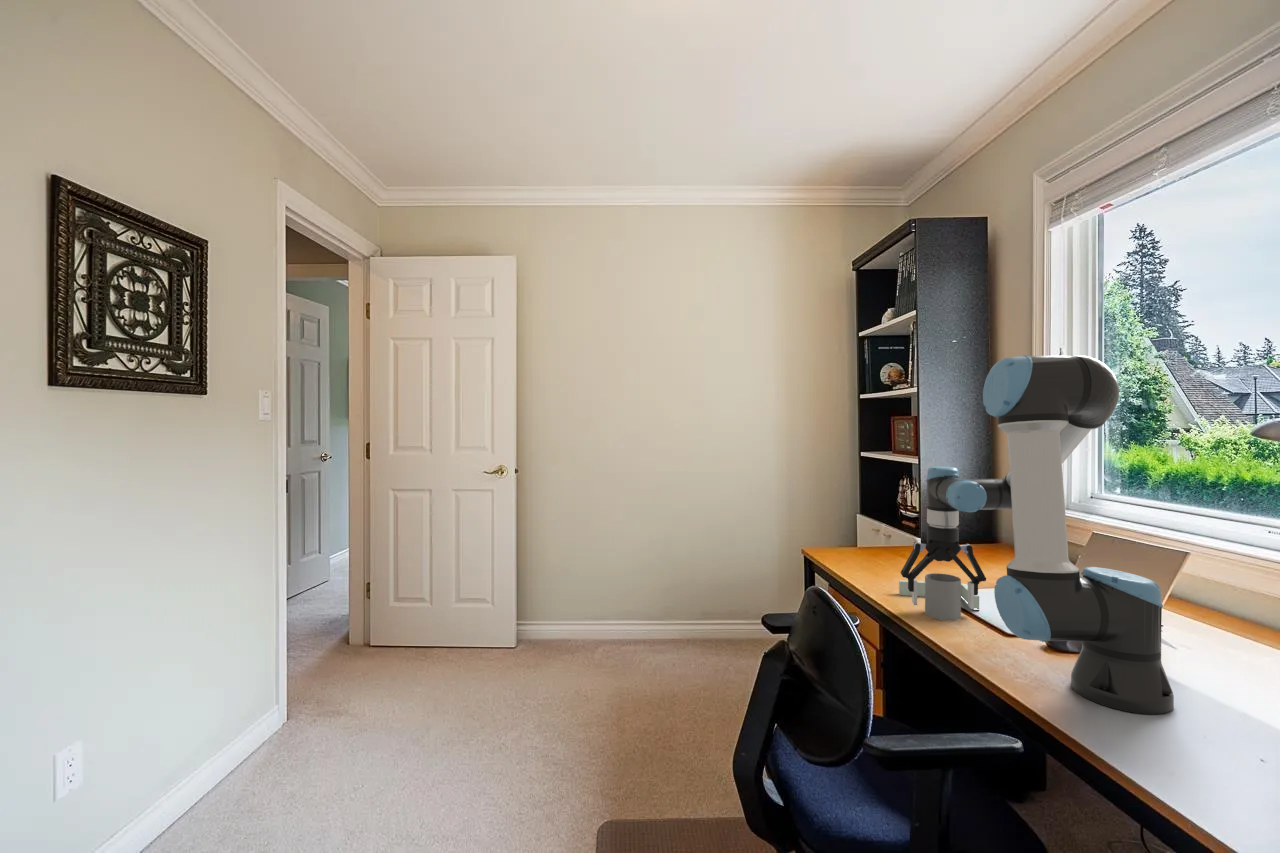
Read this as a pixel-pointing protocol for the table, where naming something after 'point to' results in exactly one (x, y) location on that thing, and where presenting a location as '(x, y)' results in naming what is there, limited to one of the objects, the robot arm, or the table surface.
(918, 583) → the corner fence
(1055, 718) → the table surface
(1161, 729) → the table surface
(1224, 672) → the table surface
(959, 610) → the cup
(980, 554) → the table surface
